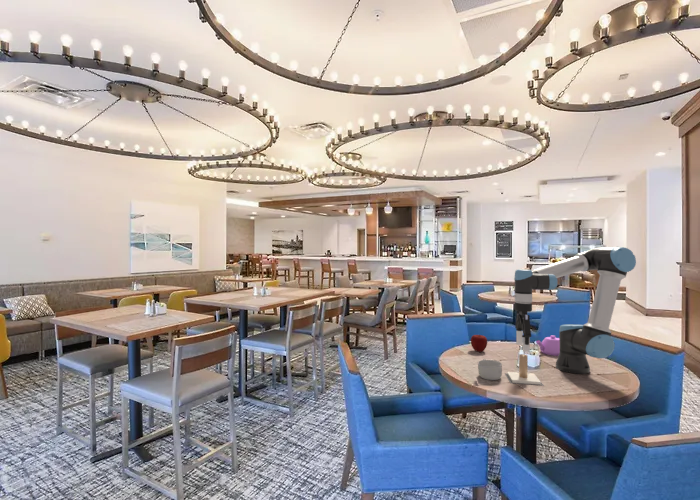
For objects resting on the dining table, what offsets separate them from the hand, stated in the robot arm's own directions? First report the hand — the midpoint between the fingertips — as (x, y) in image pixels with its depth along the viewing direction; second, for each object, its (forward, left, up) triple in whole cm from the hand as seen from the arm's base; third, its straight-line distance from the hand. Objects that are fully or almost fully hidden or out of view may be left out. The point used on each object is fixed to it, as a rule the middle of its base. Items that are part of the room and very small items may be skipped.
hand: (522, 347), depth 173 cm
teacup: (+15, -1, -16) cm, 22 cm away
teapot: (-28, -56, -16) cm, 65 cm away
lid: (0, 0, -15) cm, 15 cm away
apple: (+14, -51, -16) cm, 55 cm away
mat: (0, 0, -16) cm, 16 cm away
